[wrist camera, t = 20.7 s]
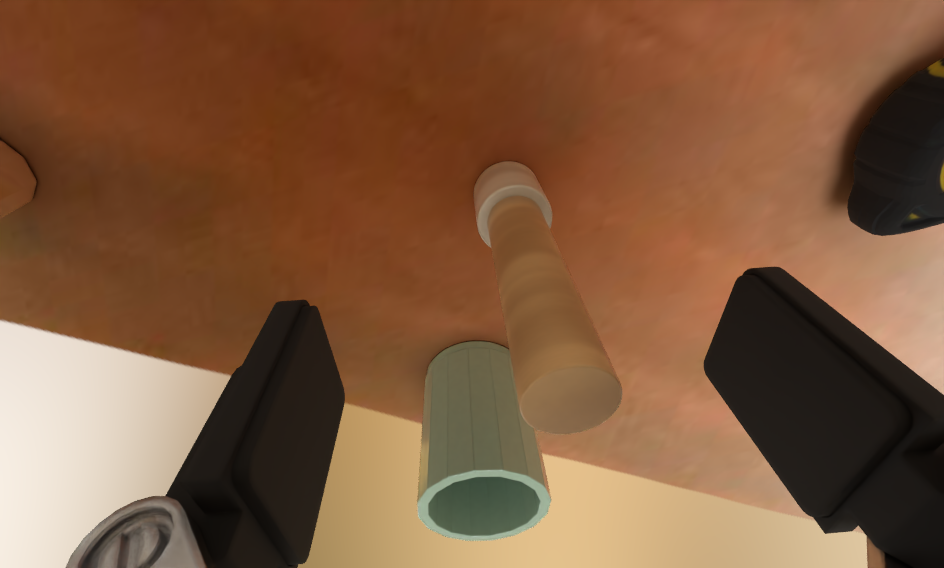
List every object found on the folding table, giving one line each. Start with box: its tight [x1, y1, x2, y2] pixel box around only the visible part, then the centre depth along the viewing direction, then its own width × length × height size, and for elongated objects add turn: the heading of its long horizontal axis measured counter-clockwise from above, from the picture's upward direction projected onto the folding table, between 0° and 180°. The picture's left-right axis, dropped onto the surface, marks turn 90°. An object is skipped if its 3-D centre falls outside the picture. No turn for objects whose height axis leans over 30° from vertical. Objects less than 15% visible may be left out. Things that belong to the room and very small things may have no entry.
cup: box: [417, 341, 551, 541], centre depth 22 cm, size 6×6×8 cm
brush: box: [474, 161, 622, 435], centre depth 14 cm, size 3×3×12 cm
